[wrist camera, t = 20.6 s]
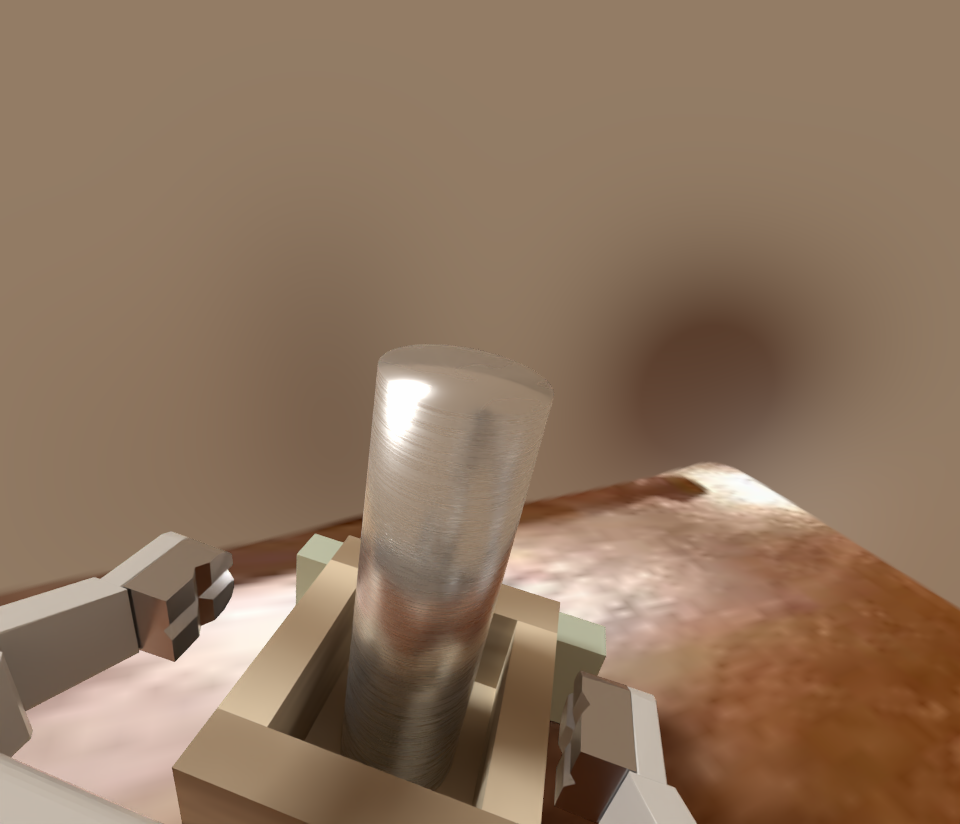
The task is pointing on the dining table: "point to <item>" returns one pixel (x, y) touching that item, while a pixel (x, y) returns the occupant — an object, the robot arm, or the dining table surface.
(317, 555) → the wall
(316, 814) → the socket block
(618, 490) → the dining table surface
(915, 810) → the dining table surface
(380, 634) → the dowel
